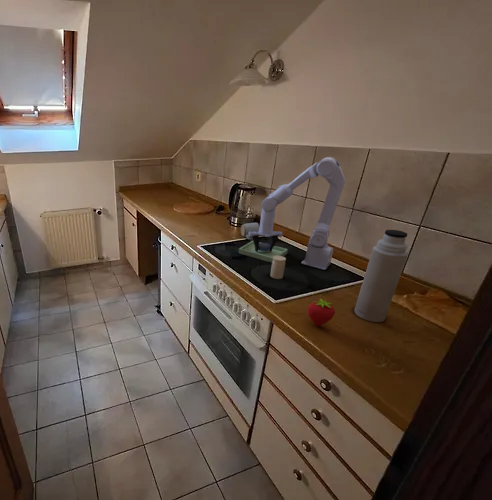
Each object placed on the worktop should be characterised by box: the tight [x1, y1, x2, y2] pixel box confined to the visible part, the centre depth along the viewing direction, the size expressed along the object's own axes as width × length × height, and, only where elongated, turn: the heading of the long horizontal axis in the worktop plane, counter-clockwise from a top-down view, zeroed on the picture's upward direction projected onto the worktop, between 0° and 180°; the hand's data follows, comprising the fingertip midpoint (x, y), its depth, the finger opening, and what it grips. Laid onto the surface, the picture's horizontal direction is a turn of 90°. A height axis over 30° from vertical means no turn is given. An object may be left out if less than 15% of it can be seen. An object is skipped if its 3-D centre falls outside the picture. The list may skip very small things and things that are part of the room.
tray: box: [238, 240, 289, 264], centre depth 140 cm, size 17×14×2 cm
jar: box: [269, 256, 287, 280], centre depth 118 cm, size 5×5×8 cm
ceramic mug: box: [240, 222, 260, 242], centre depth 158 cm, size 11×8×8 cm
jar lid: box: [258, 242, 271, 251], centre depth 139 cm, size 6×6×2 cm
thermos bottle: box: [354, 229, 409, 323], centre depth 89 cm, size 8×8×28 cm
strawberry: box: [306, 297, 336, 327], centre depth 88 cm, size 6×8×10 cm
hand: (263, 250), depth 140 cm, fingers closed on jar lid, 6 cm apart
